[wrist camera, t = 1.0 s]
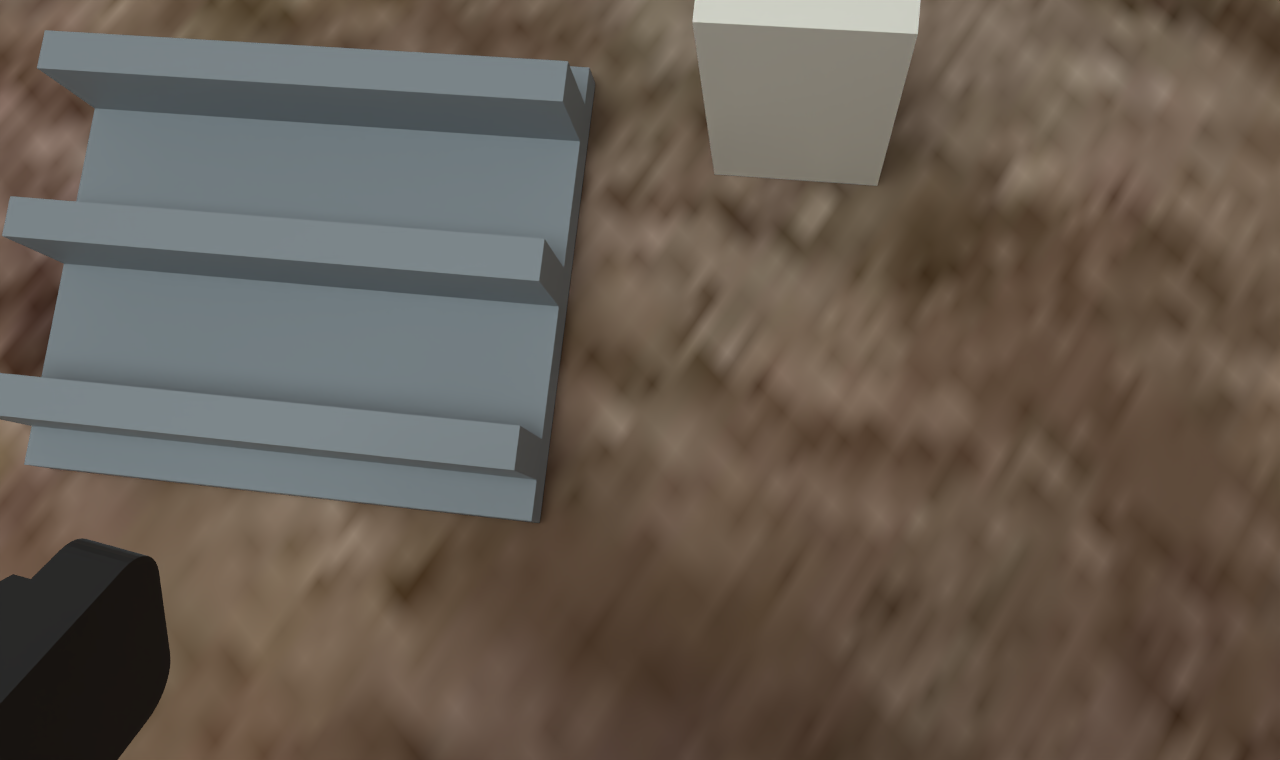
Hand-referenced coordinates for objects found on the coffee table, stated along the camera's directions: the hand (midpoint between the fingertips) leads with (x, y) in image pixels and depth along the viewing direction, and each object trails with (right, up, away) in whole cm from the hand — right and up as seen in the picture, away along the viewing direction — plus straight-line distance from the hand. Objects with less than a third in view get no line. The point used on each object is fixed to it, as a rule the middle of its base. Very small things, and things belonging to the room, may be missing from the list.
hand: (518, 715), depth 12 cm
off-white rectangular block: (+6, +11, +24) cm, 27 cm away
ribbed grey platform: (-9, +7, +25) cm, 27 cm away
